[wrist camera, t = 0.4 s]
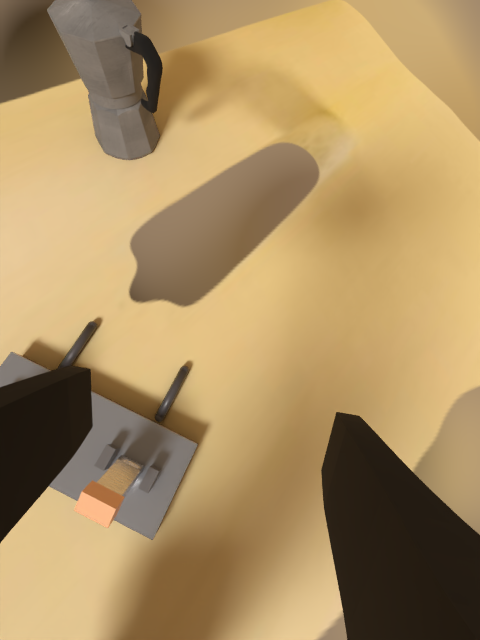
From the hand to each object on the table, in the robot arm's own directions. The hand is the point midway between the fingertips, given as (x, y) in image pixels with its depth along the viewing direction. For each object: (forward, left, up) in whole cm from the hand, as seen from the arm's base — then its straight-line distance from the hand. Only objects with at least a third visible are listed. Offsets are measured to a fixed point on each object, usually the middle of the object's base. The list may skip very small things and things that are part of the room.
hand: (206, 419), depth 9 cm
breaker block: (-3, +11, -27) cm, 29 cm away
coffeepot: (+32, +28, -27) cm, 50 cm away
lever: (-6, +5, -24) cm, 25 cm away
